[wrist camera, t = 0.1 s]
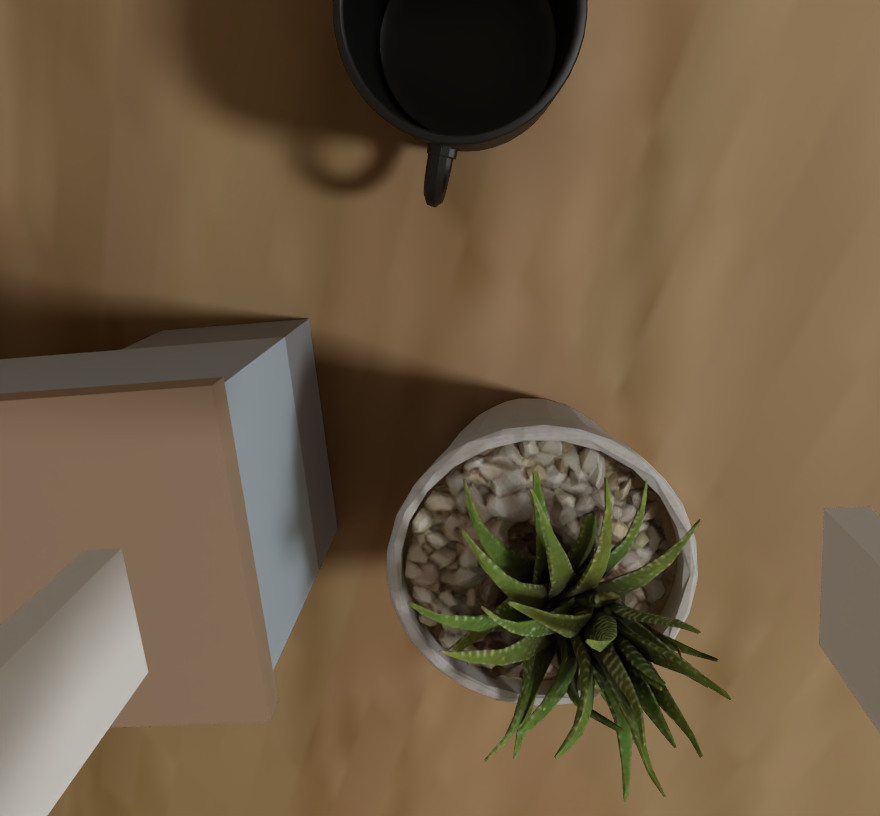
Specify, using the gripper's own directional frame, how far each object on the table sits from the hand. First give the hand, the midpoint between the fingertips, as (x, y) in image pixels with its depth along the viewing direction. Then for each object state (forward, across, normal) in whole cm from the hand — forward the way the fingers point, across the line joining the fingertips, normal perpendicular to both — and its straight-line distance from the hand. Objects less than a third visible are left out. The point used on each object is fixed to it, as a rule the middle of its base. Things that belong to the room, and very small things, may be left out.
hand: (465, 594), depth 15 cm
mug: (+28, 0, +12) cm, 31 cm away
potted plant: (+28, +2, -9) cm, 30 cm away
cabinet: (+28, -18, -5) cm, 33 cm away
